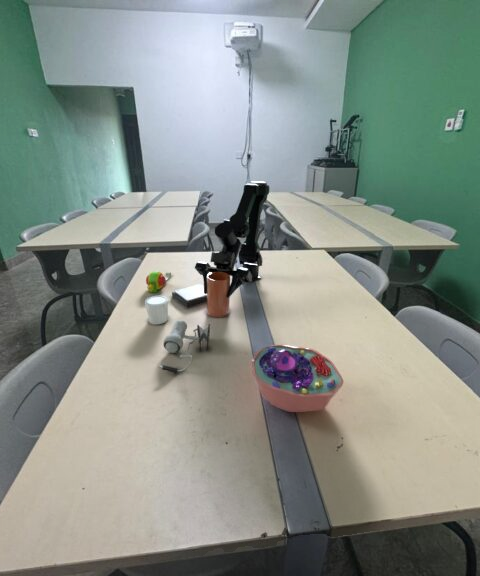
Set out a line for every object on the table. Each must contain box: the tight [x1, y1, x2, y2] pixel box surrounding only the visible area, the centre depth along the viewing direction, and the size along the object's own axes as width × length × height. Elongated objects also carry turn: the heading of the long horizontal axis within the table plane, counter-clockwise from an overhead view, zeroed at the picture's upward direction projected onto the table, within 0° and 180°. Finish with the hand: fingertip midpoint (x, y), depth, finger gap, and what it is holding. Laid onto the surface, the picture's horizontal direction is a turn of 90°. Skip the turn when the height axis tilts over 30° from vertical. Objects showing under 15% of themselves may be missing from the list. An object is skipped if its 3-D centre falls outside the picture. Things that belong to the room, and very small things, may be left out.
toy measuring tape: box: [145, 270, 172, 293], centre depth 124 cm, size 6×20×7 cm, turn 173°
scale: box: [171, 283, 207, 309], centre depth 115 cm, size 12×11×2 cm
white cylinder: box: [144, 295, 169, 325], centre depth 99 cm, size 7×7×7 cm
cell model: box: [251, 344, 344, 413], centre depth 69 cm, size 17×20×11 cm
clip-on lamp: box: [158, 320, 211, 374], centre depth 83 cm, size 12×6×18 cm
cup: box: [206, 272, 231, 318], centre depth 103 cm, size 7×7×13 cm
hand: (216, 295), depth 102 cm, fingers closed on cup, 7 cm apart
